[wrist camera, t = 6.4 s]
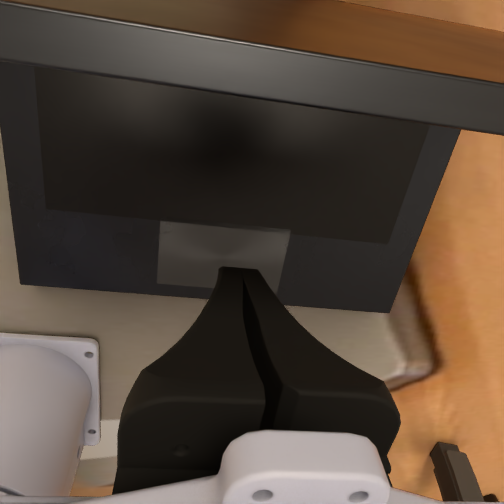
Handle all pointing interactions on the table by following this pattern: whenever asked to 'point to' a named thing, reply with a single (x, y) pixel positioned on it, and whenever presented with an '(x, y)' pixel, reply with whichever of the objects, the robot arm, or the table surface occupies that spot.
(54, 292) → the table surface
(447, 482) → the hand grip strengthener
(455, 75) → the screen
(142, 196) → the laptop
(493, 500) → the multiport hub
